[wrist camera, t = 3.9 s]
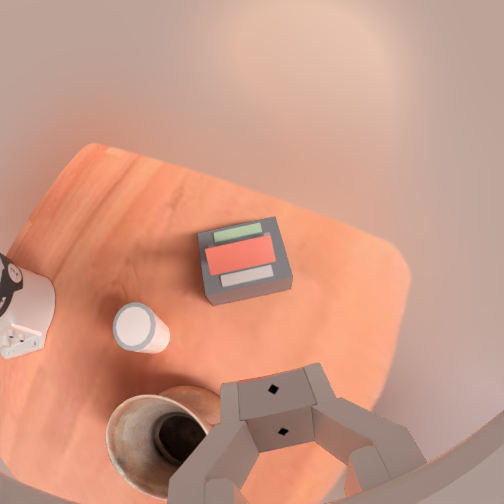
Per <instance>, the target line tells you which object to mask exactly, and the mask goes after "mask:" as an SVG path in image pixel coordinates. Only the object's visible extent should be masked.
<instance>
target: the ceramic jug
mask: <svg viewBox="0 0 504 504" xmlns="http://www.w3.org/2000/svg"><path fill="white" fill-rule="evenodd" d="M217 424H220V396H219V395H217V394H215V393H213V392H212V391H209V390H207V389H204V388H201V387H196V386H176V387H172V388H169V389H166V390H164V391H162V392H160V393H159V394H157V395H154V394H145V395H138V396H134V397H132V398H129V399H127V400H126V401H124V402H123V403H122V404H120V405H119V406H118V407H117V408H116V409H115V411H114V412H113V413H112V415H111V416H110V418H109V421H108V423H107V427H106V432H105V438H106V439H105V440H106V443H107V451H108V455H109V457H110V460H111V462H112V464H113V465H114V467H115V468H116V470H117V471H118V472H119V474H120V475H121V476H122V477H123V479H124V480H125V481H126V482H127V483H128V484H130V485H131V486H132V487H134V488H135V489H137V490H138V491H140V492H142V493H144V494H146V495H148V496H151V497H155V498H157V499H161V500H167V498H168V489H169V480H170V478H171V477H172V476H173V475H174V473H175V472H176V471H177V470H178V469H179V468H180V467H181V465H182V464H183V463H184V462H185V461H186V460H187V458H188V457H189V456H190V455H191V454H192V453H193V451H194V450H195V449H196V448H197V447H198V445H199V444H200V443H201V442H202V441H203V439H204V438H205V437H206V436H207V434H208V433H209V432H210V431H211V429H212V428H213V427H214V426H215V425H217Z"/></svg>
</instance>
